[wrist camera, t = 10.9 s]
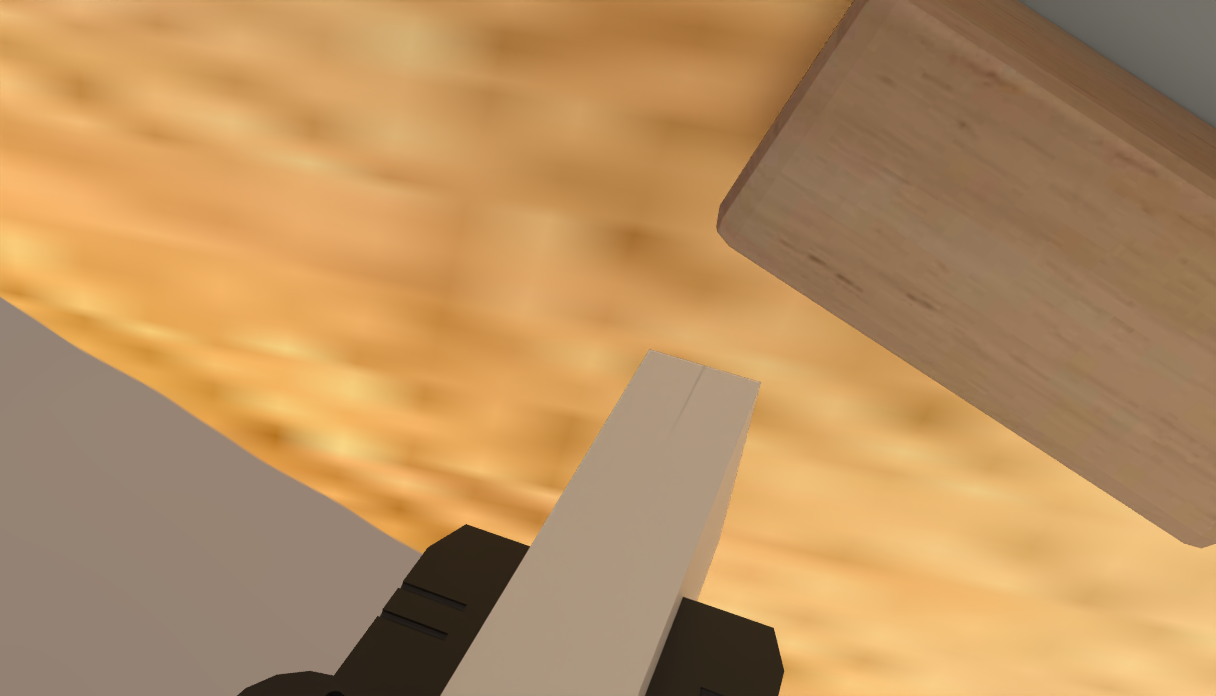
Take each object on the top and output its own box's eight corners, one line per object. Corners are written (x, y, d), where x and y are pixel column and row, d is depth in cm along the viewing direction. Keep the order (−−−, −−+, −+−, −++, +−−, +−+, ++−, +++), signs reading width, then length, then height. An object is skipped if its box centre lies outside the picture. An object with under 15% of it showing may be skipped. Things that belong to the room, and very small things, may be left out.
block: (905, -78, 37) (1377, 228, 37) (757, 147, 42) (1165, 413, 42) (876, -31, 29) (1485, 363, 28) (697, 239, 34) (1204, 570, 34)
